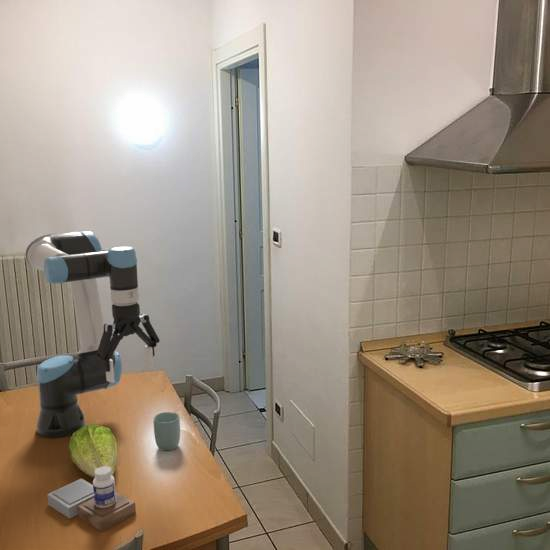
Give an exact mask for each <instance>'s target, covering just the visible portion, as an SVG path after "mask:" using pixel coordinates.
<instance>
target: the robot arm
mask: <svg viewBox="0 0 550 550" xmlns="http://www.w3.org/2000/svg"><path fill="white" fill-rule="evenodd" d="M101 245H102V244H101V242H100V241H99V238H98V237H97V235H96V234H95V233H94V232H92V231H89V230H88V231H87V230H86V231H80V230H79V231H71V232H63V233H62V232H61V233H50V234H44V235H42V236H39V237H38V238H35V239H34V240H32V241H31V242H30V243H29V244H28V246H27V247H26V249H25V259H26V262H27V263H28V265H29V266H30V267H32V268H33V269H35V270H38V271H43V273H44V277H45V279H46V282H47V283H48V284H52V285H54V284H64V283H70V288H71V289H70V290H71V293H72V300H73V306H74V311H75V318H76V324H77V325H76V326H77V330H78V331H77V332H78V335H79V342H80V349H79V350H78V351H77V358H74V357H73V356H71V355H69V354H64V355H57V356H54V357H53V356H52V357H51V358H48V359H46V360H44V361H42V362H41V363H40V364H39V365H38V367H37V369H36V372H37V373H36V381H37V386H38V396H39V397H38V398H39V405H40V406H39V407H40V409H39V412H38V413H39V414H38V418H37V421H36V422H37V423H36V432H37V434H38V435H40V436H41V437H44V438H62V437H66V436H70V435H71V436H72V435H73V433H74V432H76V431H78V430H79V429H81V428H82V427H83V426H86V417H85V415H84V413H83V411H82V409H81V407H80V404H79V402H78V395H82V394H87V393H90V392H91V393H92V392H96V391H99V390H103V389H104V390H107V389H108V388H111V387H116V386H117V385H118V384H119V382H120V381H121V377H122V372H123V370H122V359H121V355H120V353H119V352H118V351H116V349H117V347H118V345H119V344H120V342H121V340H123V339H124V337H128V336H130V335H135V334H136V335H137V336H138V337H139V338H140V339H141V340H142V341H143V343H145V344H146V345H145V346H144V358H145V359H144V362H145V368H147V369H150V370H153V369H155V368H154V367H155V366H154V357H155V347H157V344H158V343H160V342H161V341H160V338H159V337H158V334H157V333H156V330H155V329H154V326H153V325H152V324H151V323H152V322H151V321H150V316H149V315H148V314H146V313H145V314H144V313H141V310H140V309H141V308H140V303H139V300H140V297H139V296H140V295H139V282H138V281H139V280H138V267H137V266H138V265H137V263H138V259H137V254H136V249H135V248H134V247H132V246H116V247H111V248H103V249H102V246H101ZM103 278H109V284H110V285H109V289H110V302H111V311H112V312H111V313H112V318H113V323H105V322H104V317H103V316H104V315H103V309H102V306H101V305H102V304H101V299H100V293H99V287H98V282H97V281H98V280H97V279H103ZM140 323H141V324H142V326H143V328H144V329H145V330H143V329H142V327H140ZM144 331H145V332H146V333H145V332H144Z"/></svg>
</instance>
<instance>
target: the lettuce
mask: <svg viewBox="0 0 550 550" xmlns="http://www.w3.org/2000/svg"><path fill="white" fill-rule="evenodd" d="M68 450H69V454H70V457H71V461H72V462H73V463H74V464H75V465H76V466H77V468H78V469H79V470H80V471H82V472H83V474H86V475H87V476H88V477H91V478H92V479H93V480H94V479H95V470H96V469H97V468H100V467H109V468H111V475H112V476H113V477H114V474H115V470H116V465H117V461H118V444H117V439H116V437H115V435H114V433H113V432H112V430H111V429H110V428H109V427H106V426H102V425H98V424H92V423H89V424H85V426H83V427H82V428H81V429H79V430H78V431H76V432H74V433H73V434H71V436H70V439H69V441H68Z"/></svg>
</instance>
